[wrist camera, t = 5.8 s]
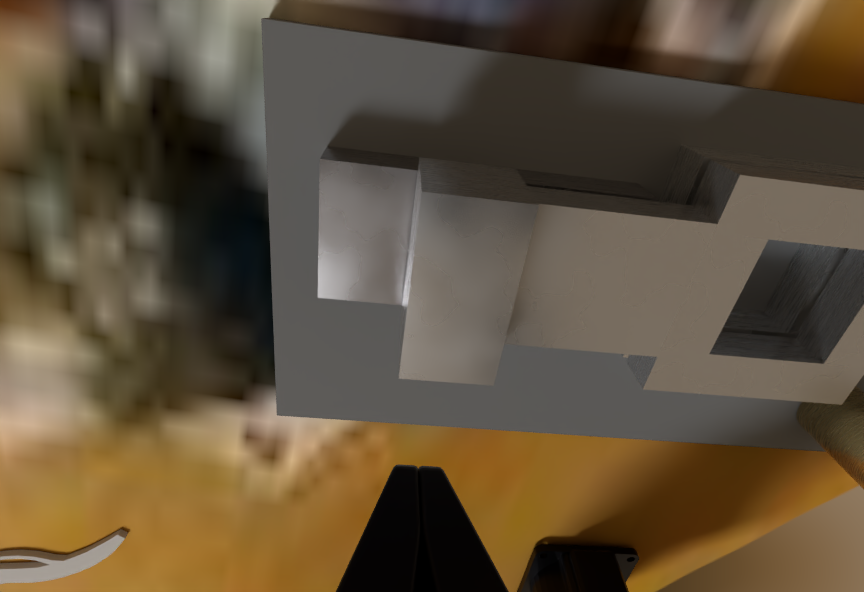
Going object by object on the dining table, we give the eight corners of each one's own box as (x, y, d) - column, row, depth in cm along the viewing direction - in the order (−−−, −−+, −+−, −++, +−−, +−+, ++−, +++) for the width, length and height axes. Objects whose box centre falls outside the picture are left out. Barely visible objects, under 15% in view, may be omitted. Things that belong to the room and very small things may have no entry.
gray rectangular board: (855, 442, 26) (867, 454, 26) (280, 403, 23) (277, 415, 23) (1097, 137, 18) (1124, 142, 18) (268, 17, 15) (261, 18, 15)
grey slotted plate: (903, 359, 22) (948, 392, 20) (323, 309, 20) (314, 341, 18) (1033, 190, 18) (1105, 211, 16) (328, 98, 16) (317, 111, 14)
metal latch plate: (811, 377, 20) (876, 436, 17) (397, 343, 18) (395, 402, 16) (938, 188, 16) (1047, 226, 13) (423, 123, 14) (426, 150, 12)
